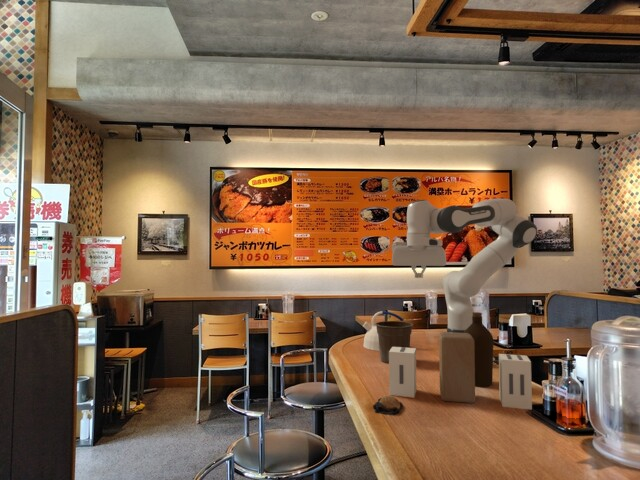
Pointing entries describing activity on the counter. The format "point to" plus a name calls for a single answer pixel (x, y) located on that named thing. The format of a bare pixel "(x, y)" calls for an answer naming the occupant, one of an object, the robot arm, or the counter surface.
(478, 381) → the olive oil
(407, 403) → the counter surface
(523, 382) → the marked block two
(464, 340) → the block
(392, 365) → the marked block one
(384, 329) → the plant pot
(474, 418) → the counter surface
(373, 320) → the kettle
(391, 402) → the bread roll
